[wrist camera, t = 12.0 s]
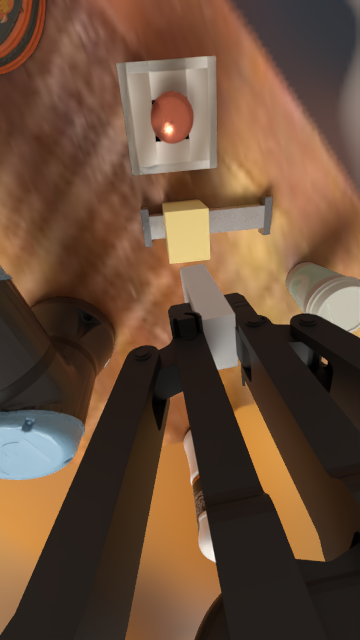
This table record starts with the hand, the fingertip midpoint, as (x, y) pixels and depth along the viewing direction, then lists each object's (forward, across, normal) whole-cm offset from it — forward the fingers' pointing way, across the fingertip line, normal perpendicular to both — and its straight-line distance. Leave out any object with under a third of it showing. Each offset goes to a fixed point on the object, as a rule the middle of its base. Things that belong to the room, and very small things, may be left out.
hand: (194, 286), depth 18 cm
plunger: (+21, +2, +10) cm, 24 cm away
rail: (+27, +6, -2) cm, 27 cm away
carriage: (+27, +2, -1) cm, 27 cm away
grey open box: (+27, +2, +10) cm, 28 cm away
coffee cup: (+26, +21, -14) cm, 36 cm away
